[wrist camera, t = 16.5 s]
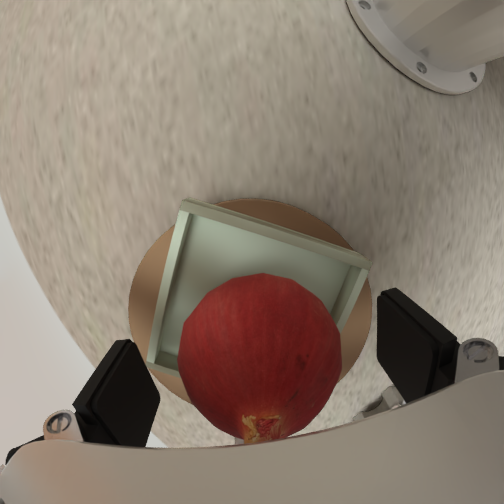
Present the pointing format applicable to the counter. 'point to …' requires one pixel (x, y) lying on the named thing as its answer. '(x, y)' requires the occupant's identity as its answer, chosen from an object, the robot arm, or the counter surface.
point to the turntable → (243, 274)
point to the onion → (260, 357)
